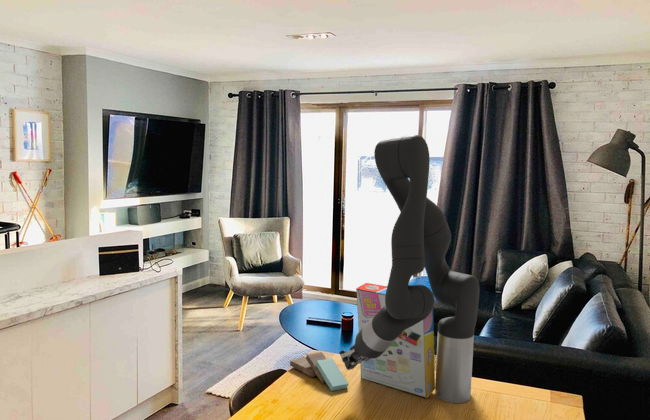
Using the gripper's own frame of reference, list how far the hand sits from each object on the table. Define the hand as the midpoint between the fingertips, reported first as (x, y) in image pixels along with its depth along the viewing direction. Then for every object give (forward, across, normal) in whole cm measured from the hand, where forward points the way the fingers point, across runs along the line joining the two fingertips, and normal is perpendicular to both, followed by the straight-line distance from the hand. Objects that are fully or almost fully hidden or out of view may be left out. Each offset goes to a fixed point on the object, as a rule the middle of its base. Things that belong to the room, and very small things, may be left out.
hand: (348, 366), depth 136 cm
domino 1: (+15, +1, -5) cm, 16 cm away
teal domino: (+8, 0, +2) cm, 9 cm away
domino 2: (+17, +1, -5) cm, 17 cm away
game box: (+6, -16, +6) cm, 18 cm away
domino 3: (+12, 0, -1) cm, 12 cm away
